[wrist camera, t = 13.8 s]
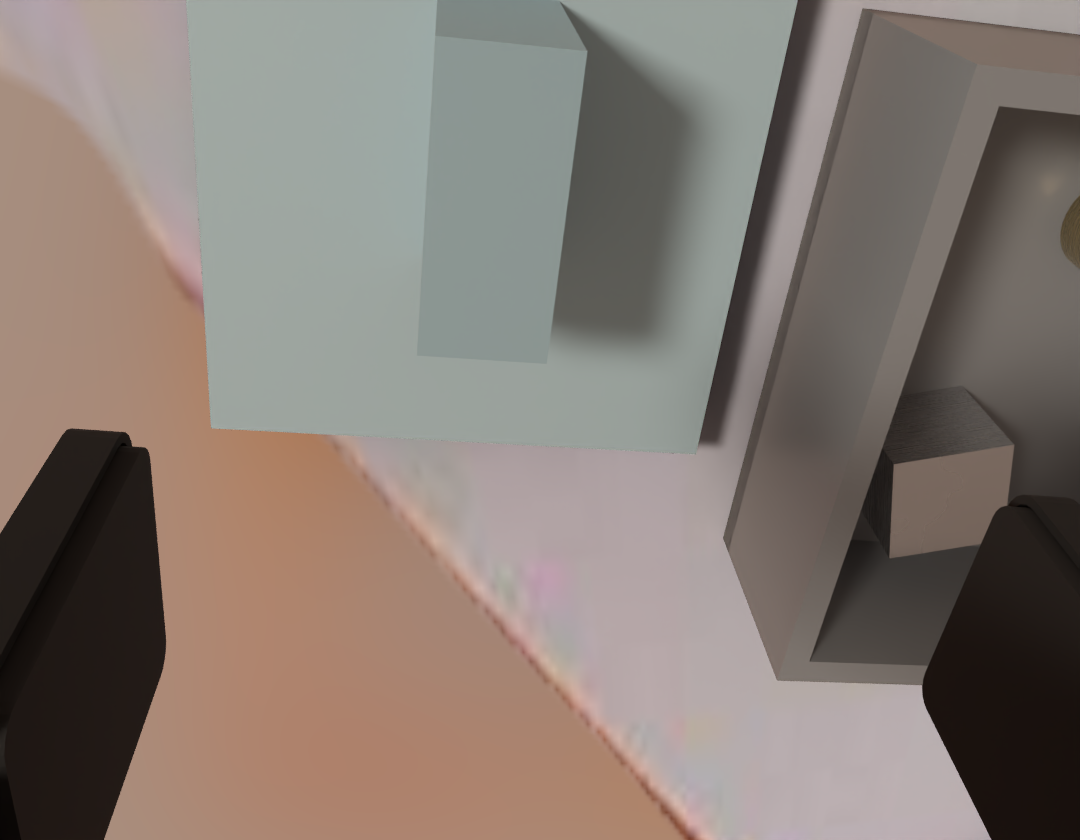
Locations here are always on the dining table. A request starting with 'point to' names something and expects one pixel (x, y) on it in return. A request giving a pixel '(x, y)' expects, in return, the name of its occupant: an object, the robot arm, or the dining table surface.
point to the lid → (476, 212)
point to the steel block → (938, 474)
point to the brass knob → (1071, 233)
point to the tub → (913, 331)
